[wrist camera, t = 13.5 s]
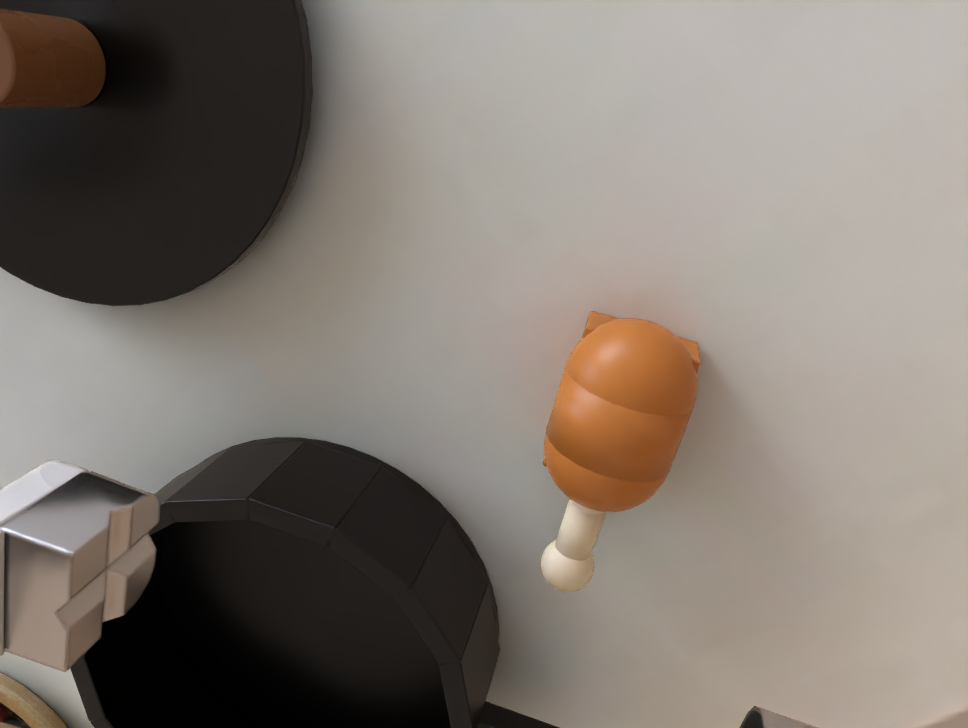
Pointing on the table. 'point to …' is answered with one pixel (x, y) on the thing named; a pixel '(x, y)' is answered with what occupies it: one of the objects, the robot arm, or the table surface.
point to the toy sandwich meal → (24, 708)
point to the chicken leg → (613, 431)
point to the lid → (146, 140)
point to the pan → (301, 604)
